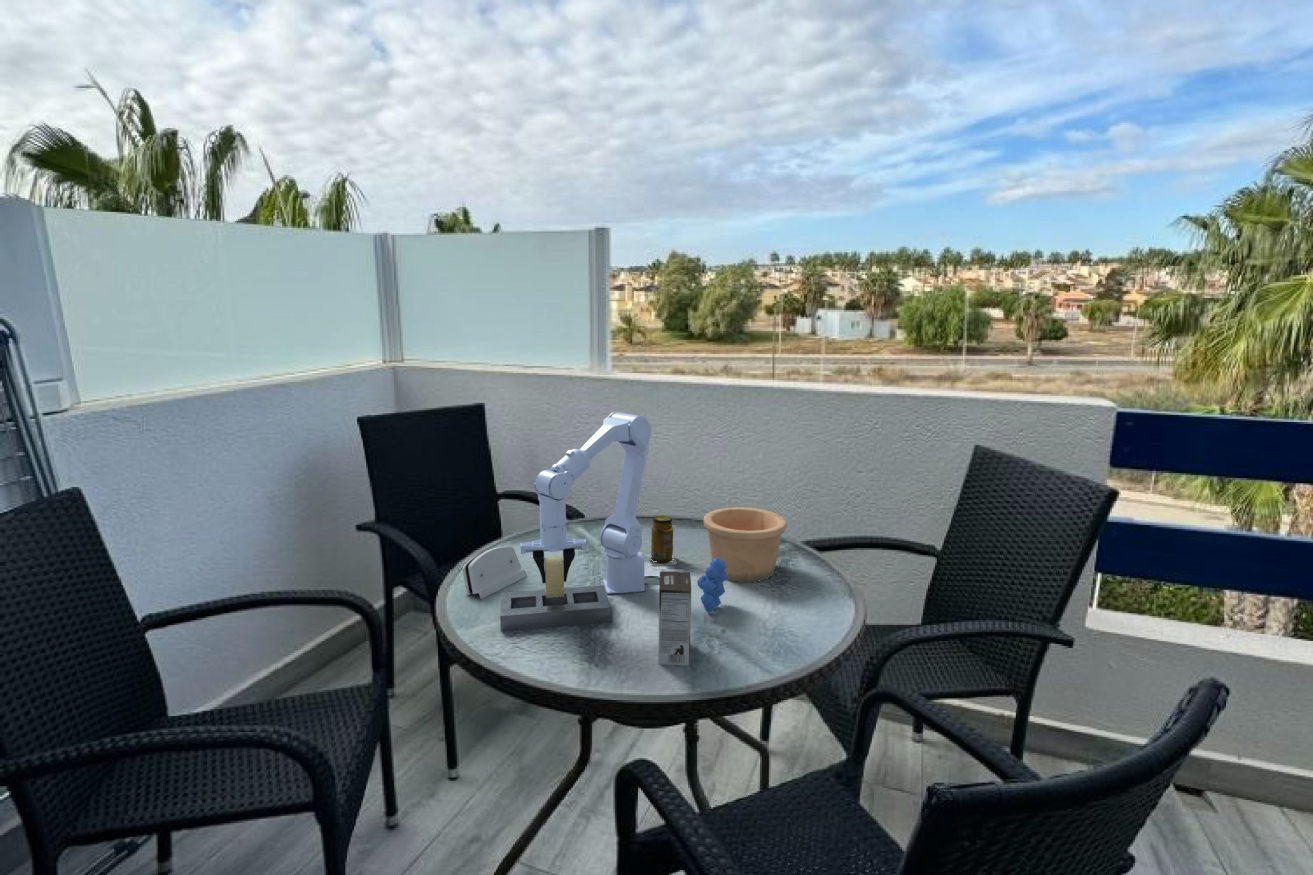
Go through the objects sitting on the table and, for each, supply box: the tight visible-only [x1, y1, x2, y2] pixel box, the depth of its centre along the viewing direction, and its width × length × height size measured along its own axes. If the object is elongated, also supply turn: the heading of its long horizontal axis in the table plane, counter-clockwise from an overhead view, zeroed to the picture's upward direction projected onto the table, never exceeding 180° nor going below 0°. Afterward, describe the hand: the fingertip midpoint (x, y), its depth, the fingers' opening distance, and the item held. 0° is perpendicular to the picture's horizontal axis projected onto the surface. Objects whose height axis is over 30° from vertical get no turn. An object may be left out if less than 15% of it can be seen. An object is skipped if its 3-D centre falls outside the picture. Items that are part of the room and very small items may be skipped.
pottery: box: [703, 506, 788, 583], centre depth 175 cm, size 22×22×14 cm
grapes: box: [696, 558, 727, 613], centre depth 153 cm, size 12×7×12 cm, turn 154°
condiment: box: [646, 515, 679, 567], centre depth 182 cm, size 7×8×12 cm
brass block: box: [544, 556, 565, 598], centre depth 148 cm, size 4×4×8 cm
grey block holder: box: [499, 584, 611, 632], centre depth 150 cm, size 24×12×4 cm, turn 101°
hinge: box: [461, 546, 527, 600], centre depth 166 cm, size 17×5×10 cm, turn 149°
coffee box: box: [658, 570, 692, 666], centre depth 132 cm, size 9×6×16 cm
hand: (554, 580), depth 149 cm, fingers closed on brass block, 4 cm apart
